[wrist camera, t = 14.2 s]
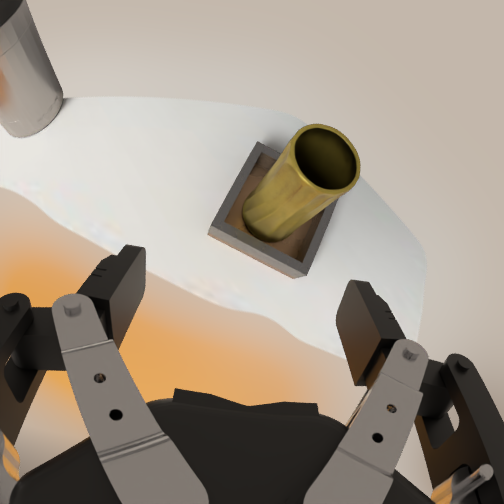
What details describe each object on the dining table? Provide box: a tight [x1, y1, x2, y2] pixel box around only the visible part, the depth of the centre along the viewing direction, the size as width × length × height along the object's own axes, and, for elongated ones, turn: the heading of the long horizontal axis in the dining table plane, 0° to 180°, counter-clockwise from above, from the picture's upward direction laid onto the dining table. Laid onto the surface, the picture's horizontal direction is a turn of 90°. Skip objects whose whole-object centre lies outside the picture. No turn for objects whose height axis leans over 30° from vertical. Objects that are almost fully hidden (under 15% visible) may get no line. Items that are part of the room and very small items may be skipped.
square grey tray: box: [207, 141, 338, 279], centre depth 33 cm, size 10×10×4 cm
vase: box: [243, 124, 360, 242], centre depth 27 cm, size 6×6×14 cm
